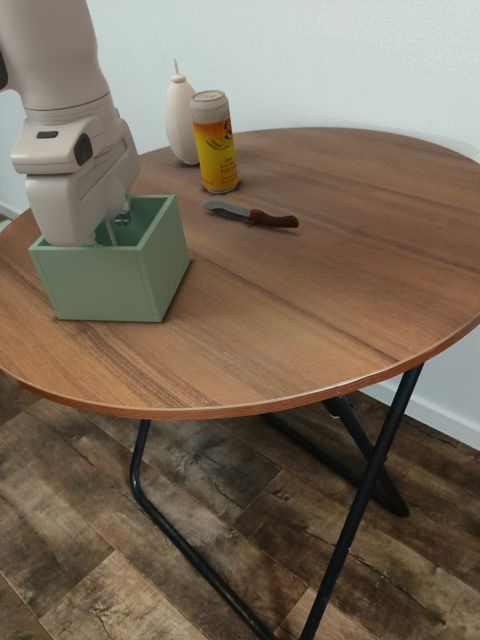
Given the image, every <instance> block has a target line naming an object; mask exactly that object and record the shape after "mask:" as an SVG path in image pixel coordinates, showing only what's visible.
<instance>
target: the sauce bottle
mask: <svg viewBox="0 0 480 640" xmlns="http://www.w3.org/2000/svg"><path fill="white" fill-rule="evenodd" d="M173 59H174V60H173V62H174V70H175V74H174V75H172V76H171V77H170V84H169V86H168V89H167V92H166V97H165V102H164V111H163V112H164V113H163V115H164V128H165V134H166V137H167V140H168V143H169V146H170V148H171V151H172V152H173V153H174V154H175V156H176V157H177V158H178V159H179V160H180V161H182V162H183V163H184V164H186V165H189V166H195V165H198V164H199V163H200V162H199V156H198V150H197V144H196V138H195V133H194V127H193V121H192V115H191V109H190V102H191V96H192V95H193V94H195V93H197V92H196V90H195V89H194V87H193V86H192V85H191V83H190V82H188V81H187V77H186V75H185V74H181V73H180V72H179V67H178V63H177V60H176V58H173Z"/></svg>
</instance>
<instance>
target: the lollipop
mask: <svg viewBox="0 0 480 640" xmlns="http://www.w3.org/2000/svg"><path fill="white" fill-rule="evenodd" d="M103 196H104V203H105V206H106V208H107V211H108V214H107V215H106V216H105V217H104V219H103V220H102V221H101V222H105V221H106V224H107V227H108V230H109V233H110V236H111V239H112V242H113V245H114V246H117V242H116V239H115V236H114V233H113V230H112V227H111V224H110V221H109V220H112V219H114V218H115V217H117V216H118V215H119V214H120V213H121V211H122V209H123V207H124V205H125V189H124V186H123V184H122V183H121V182H120V180H119V179H118V178H117V177H116V176H115V175H113V174H108V175H107V176H106V178H105V180H104V185H103Z"/></svg>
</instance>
